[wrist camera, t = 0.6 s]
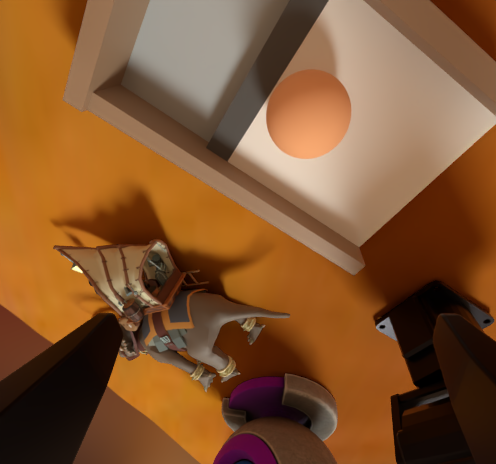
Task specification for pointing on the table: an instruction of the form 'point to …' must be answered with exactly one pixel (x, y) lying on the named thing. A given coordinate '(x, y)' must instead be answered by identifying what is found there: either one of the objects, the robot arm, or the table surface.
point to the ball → (308, 114)
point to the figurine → (163, 307)
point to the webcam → (278, 422)
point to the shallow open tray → (265, 82)
